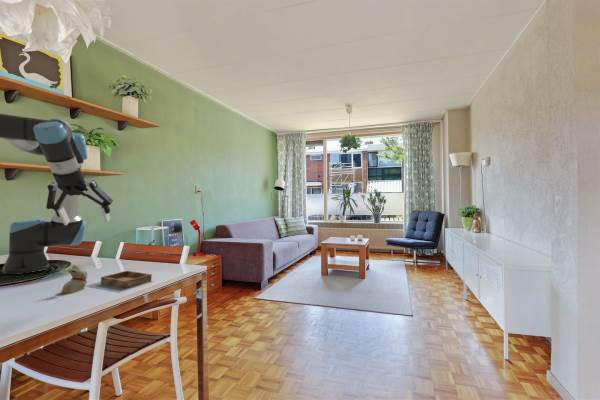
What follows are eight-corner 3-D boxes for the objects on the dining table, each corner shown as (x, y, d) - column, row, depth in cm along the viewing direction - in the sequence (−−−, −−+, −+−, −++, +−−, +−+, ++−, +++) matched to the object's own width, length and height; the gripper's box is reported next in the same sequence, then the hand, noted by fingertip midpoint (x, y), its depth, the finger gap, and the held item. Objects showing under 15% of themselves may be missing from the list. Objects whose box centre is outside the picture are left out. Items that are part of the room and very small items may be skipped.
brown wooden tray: (100, 284, 114) (101, 277, 114) (127, 277, 125) (127, 270, 125) (126, 288, 110) (126, 281, 110) (151, 281, 121) (151, 274, 121)
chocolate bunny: (88, 291, 107) (89, 264, 107) (60, 295, 101) (61, 267, 101) (86, 287, 111) (87, 261, 111) (59, 291, 105) (60, 264, 105)
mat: (84, 287, 111) (84, 286, 111) (122, 276, 126) (122, 276, 126) (118, 293, 105) (118, 292, 105) (153, 282, 120) (153, 281, 120)
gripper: (15, 177, 91) (44, 230, 102) (103, 173, 95) (121, 224, 107) (29, 167, 97) (54, 218, 108) (111, 163, 102) (127, 213, 113)
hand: (88, 221), depth 107 cm, fingers open, 13 cm apart
